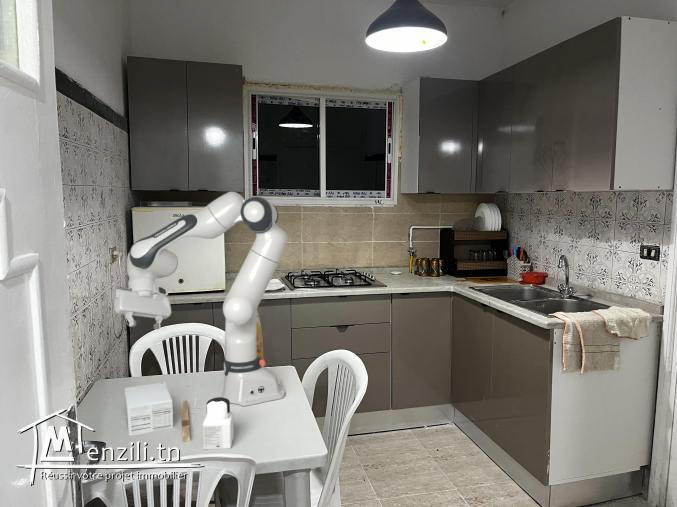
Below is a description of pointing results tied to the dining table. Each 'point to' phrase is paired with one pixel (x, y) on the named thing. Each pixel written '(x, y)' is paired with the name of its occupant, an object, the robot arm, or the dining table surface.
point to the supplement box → (148, 408)
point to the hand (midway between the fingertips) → (145, 327)
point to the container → (218, 424)
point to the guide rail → (185, 421)
